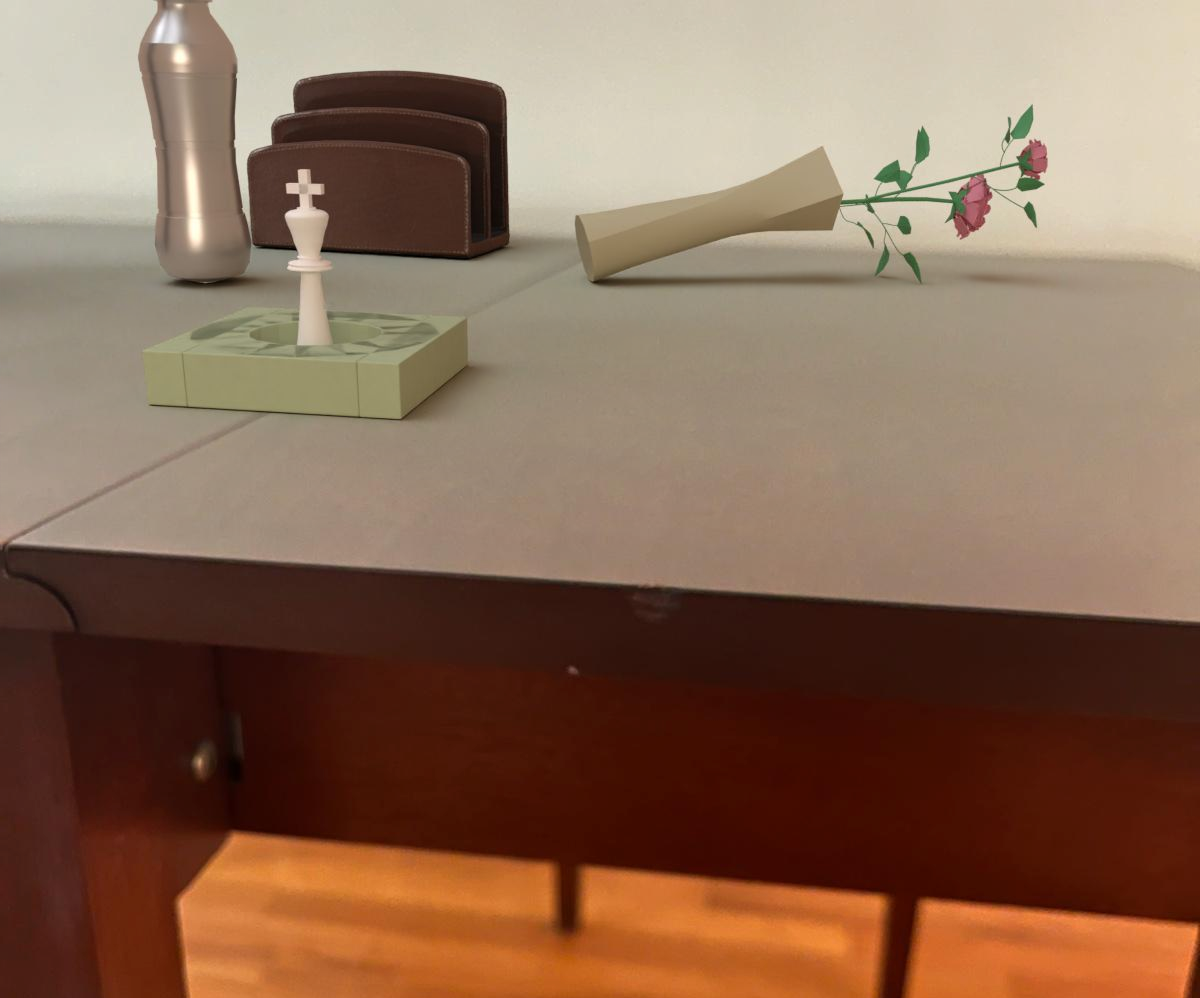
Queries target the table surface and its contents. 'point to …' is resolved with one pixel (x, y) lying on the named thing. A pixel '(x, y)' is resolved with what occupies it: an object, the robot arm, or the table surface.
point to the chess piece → (309, 260)
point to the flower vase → (785, 208)
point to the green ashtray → (308, 363)
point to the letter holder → (389, 164)
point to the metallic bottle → (194, 143)
